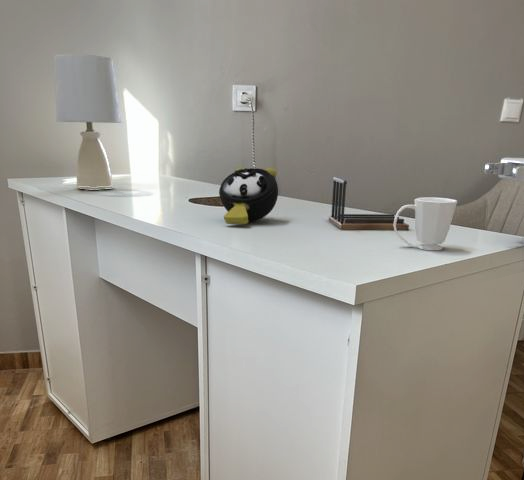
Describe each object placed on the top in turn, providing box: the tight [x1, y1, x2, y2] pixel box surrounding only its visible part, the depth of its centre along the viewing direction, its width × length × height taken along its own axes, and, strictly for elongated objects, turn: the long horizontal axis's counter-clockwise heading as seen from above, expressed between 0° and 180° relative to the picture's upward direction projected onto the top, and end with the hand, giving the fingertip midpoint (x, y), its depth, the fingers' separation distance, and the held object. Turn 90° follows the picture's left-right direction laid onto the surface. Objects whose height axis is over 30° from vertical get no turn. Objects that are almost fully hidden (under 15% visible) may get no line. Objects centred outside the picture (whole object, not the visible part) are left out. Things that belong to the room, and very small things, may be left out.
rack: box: [328, 176, 410, 231], centre depth 116 cm, size 14×12×9 cm
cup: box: [393, 196, 458, 251], centre depth 94 cm, size 7×10×8 cm
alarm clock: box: [218, 167, 279, 225], centre depth 118 cm, size 12×15×15 cm
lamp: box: [53, 53, 122, 189], centre depth 169 cm, size 19×19×37 cm
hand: (499, 170), depth 92 cm, fingers open, 8 cm apart
